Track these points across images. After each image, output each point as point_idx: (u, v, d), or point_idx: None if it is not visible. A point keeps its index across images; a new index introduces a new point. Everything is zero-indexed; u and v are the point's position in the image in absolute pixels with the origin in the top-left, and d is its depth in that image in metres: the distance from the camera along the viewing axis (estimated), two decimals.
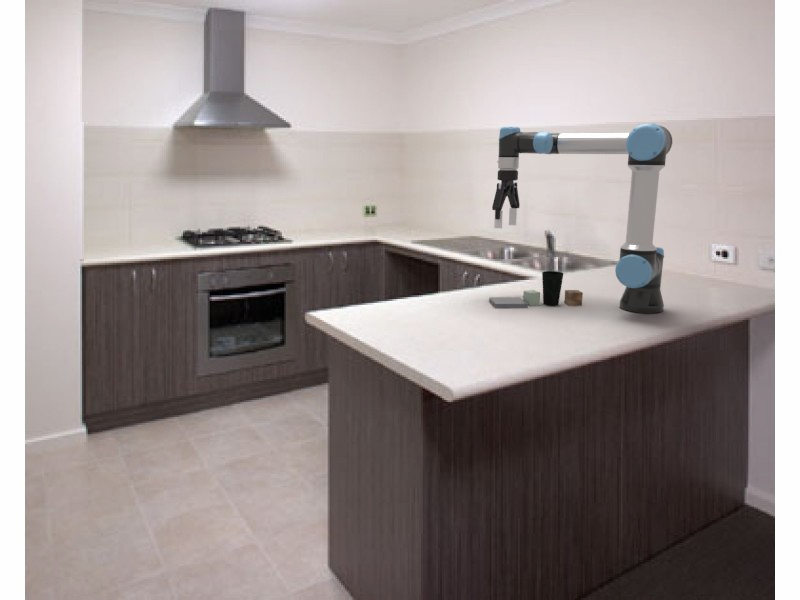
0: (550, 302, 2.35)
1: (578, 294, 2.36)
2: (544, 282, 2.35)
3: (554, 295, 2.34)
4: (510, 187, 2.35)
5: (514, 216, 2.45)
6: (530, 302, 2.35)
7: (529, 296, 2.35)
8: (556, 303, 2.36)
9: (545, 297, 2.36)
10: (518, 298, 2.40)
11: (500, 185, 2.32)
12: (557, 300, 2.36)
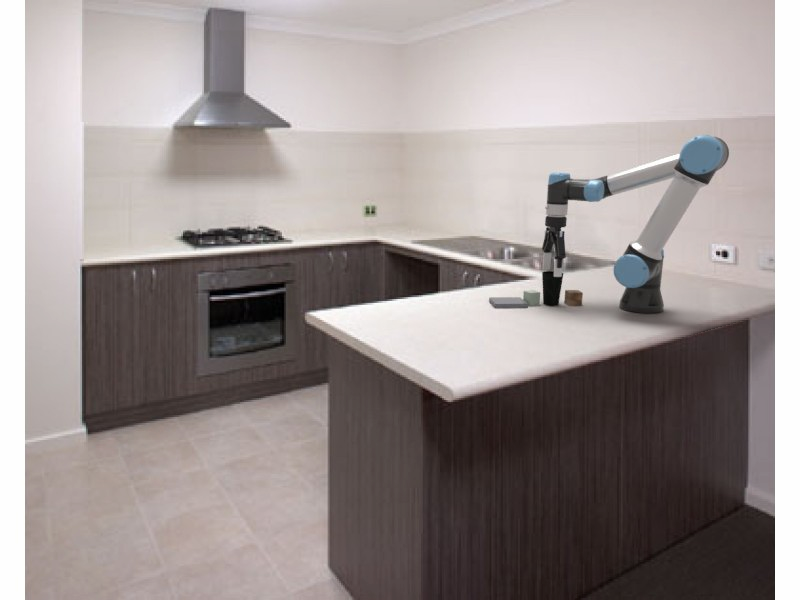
0: (550, 302, 2.35)
1: (578, 294, 2.36)
2: (544, 282, 2.35)
3: (554, 295, 2.34)
4: None
5: (549, 261, 2.41)
6: (530, 302, 2.35)
7: (529, 296, 2.35)
8: (556, 303, 2.36)
9: (545, 297, 2.36)
10: (518, 298, 2.40)
11: (561, 233, 2.26)
12: (557, 300, 2.36)
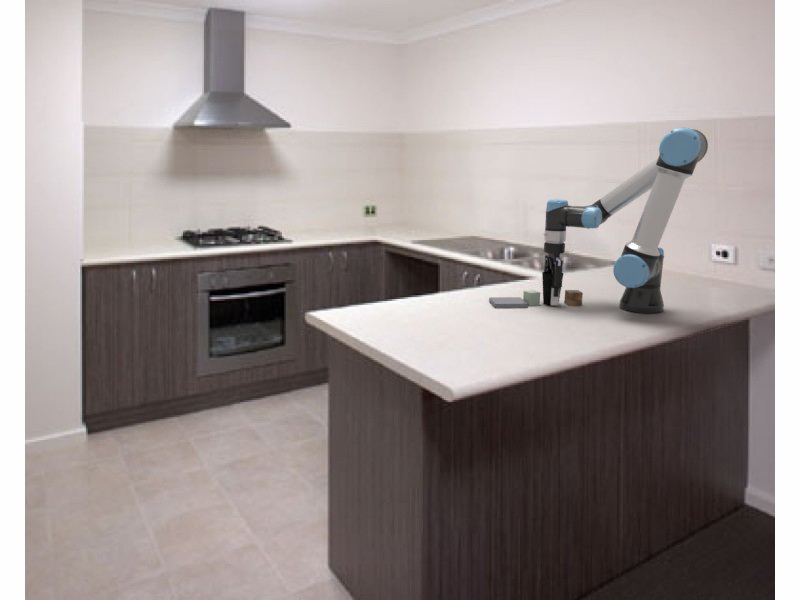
0: (550, 302, 2.35)
1: (578, 294, 2.36)
2: (544, 282, 2.35)
3: None
4: None
5: None
6: (530, 302, 2.35)
7: (529, 296, 2.35)
8: None
9: (545, 297, 2.36)
10: (518, 298, 2.40)
11: (560, 263, 2.28)
12: None
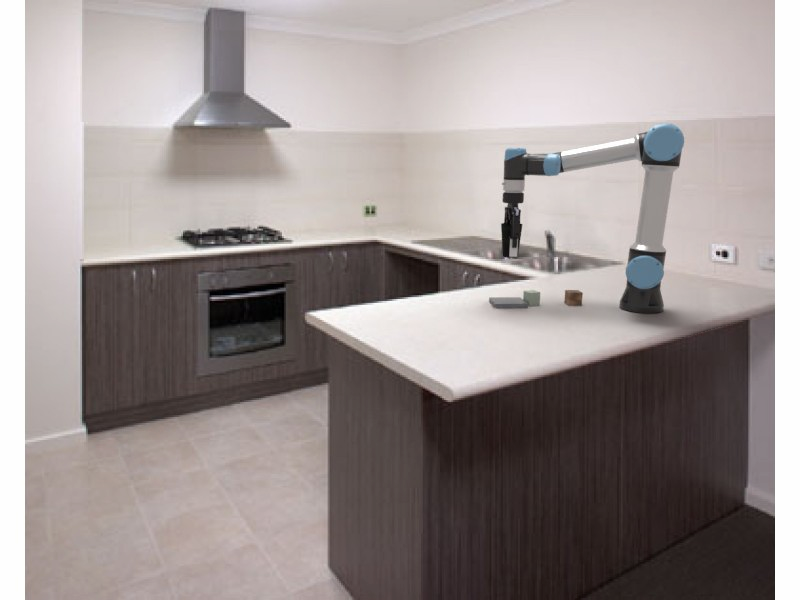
0: None
1: (578, 294, 2.36)
2: (503, 233, 2.30)
3: None
4: None
5: None
6: (530, 302, 2.35)
7: (529, 296, 2.35)
8: None
9: (504, 249, 2.31)
10: (518, 298, 2.40)
11: (517, 212, 2.23)
12: None
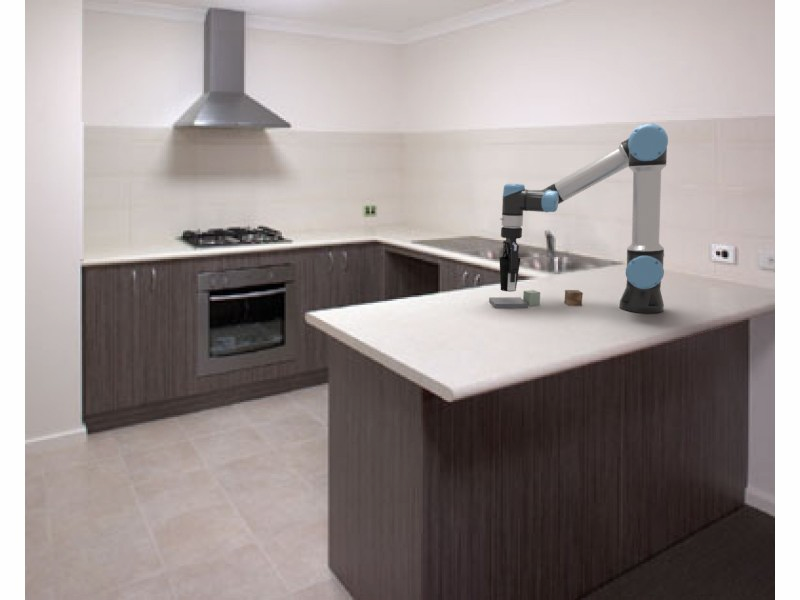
0: None
1: (578, 294, 2.36)
2: (501, 267, 2.32)
3: None
4: (517, 245, 2.31)
5: None
6: (530, 302, 2.35)
7: (529, 296, 2.35)
8: None
9: (502, 282, 2.33)
10: (518, 298, 2.40)
11: (516, 247, 2.25)
12: None
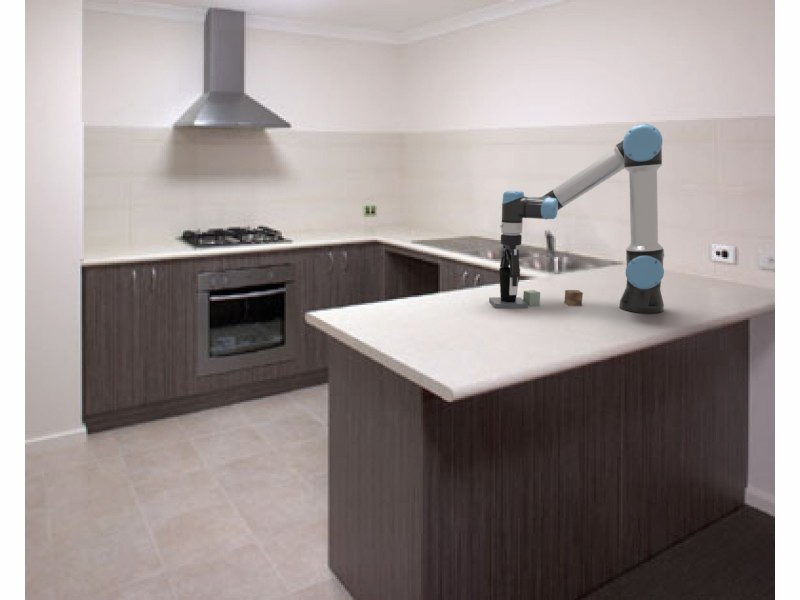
0: (507, 298, 2.33)
1: (578, 294, 2.36)
2: (501, 278, 2.33)
3: None
4: None
5: None
6: (530, 302, 2.35)
7: (529, 296, 2.35)
8: (513, 299, 2.34)
9: (502, 293, 2.34)
10: (518, 298, 2.40)
11: (516, 251, 2.26)
12: (514, 296, 2.34)
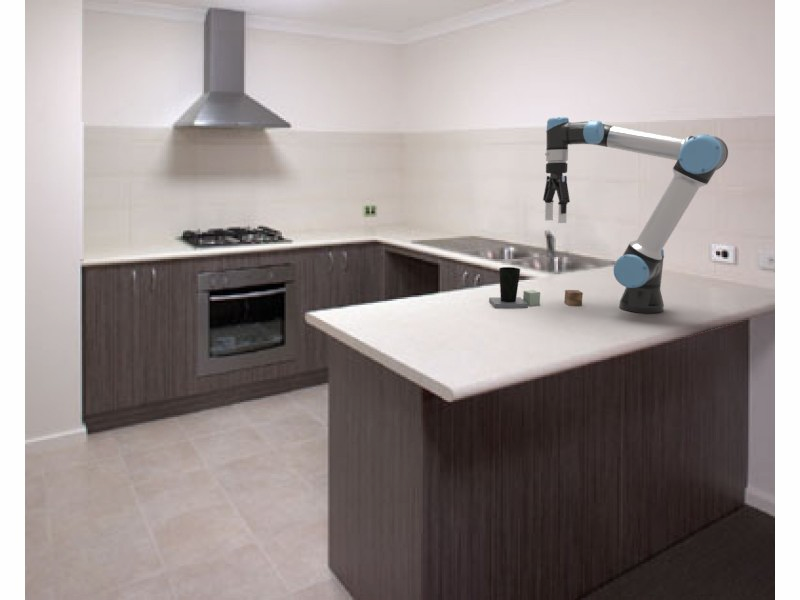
0: (507, 298, 2.33)
1: (578, 294, 2.36)
2: (501, 278, 2.33)
3: (511, 291, 2.32)
4: None
5: (551, 211, 2.37)
6: (530, 302, 2.35)
7: (529, 296, 2.35)
8: (513, 299, 2.34)
9: (502, 293, 2.34)
10: (518, 298, 2.40)
11: (564, 178, 2.22)
12: (514, 296, 2.34)
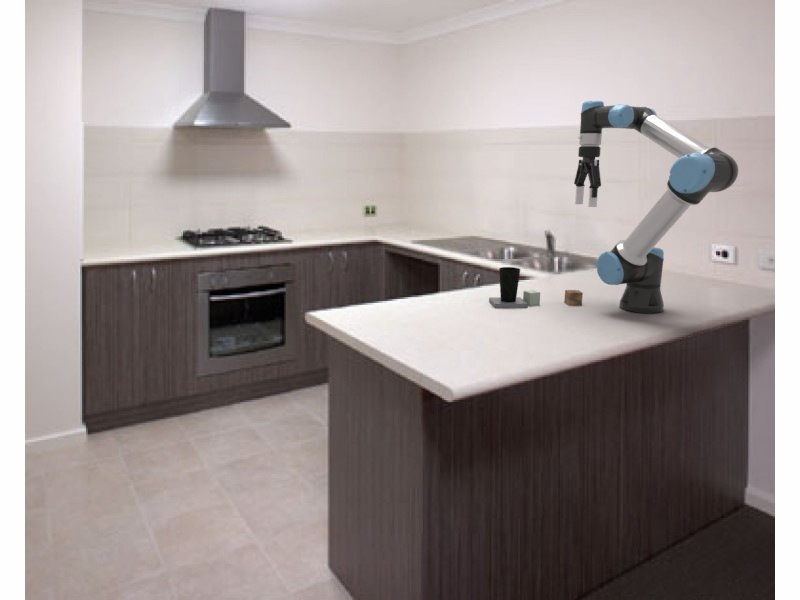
0: (507, 298, 2.33)
1: (578, 294, 2.36)
2: (501, 278, 2.33)
3: (511, 291, 2.32)
4: None
5: (581, 195, 2.38)
6: (530, 302, 2.35)
7: (529, 296, 2.35)
8: (513, 299, 2.34)
9: (502, 293, 2.34)
10: (518, 298, 2.40)
11: (596, 162, 2.23)
12: (514, 296, 2.34)
